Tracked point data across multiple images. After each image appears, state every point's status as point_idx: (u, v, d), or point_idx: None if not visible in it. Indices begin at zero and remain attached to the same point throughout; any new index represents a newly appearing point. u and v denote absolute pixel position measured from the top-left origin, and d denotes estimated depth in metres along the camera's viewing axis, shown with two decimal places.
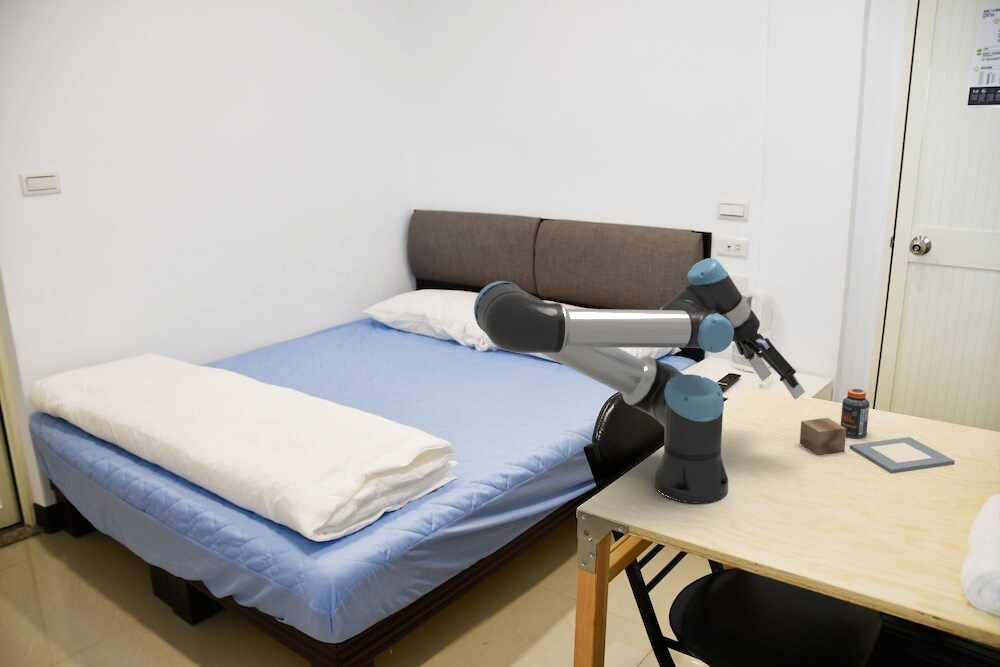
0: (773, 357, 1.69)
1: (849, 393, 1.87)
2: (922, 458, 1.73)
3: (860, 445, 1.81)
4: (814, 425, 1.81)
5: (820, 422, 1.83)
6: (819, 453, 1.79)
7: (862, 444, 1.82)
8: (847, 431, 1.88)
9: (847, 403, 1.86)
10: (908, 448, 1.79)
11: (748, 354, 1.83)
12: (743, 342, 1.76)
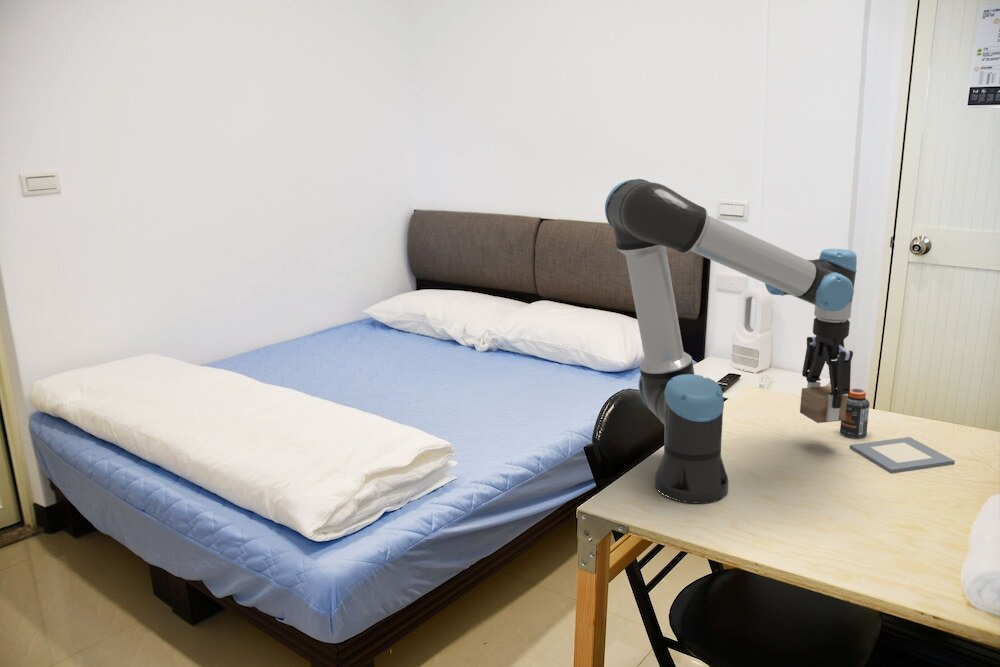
0: (844, 370, 1.71)
1: (849, 393, 1.87)
2: (922, 458, 1.73)
3: (860, 445, 1.81)
4: (815, 392, 1.79)
5: (821, 389, 1.81)
6: (819, 420, 1.77)
7: (862, 444, 1.82)
8: (847, 431, 1.88)
9: (847, 403, 1.86)
10: (908, 448, 1.79)
11: (813, 372, 1.81)
12: (820, 343, 1.77)
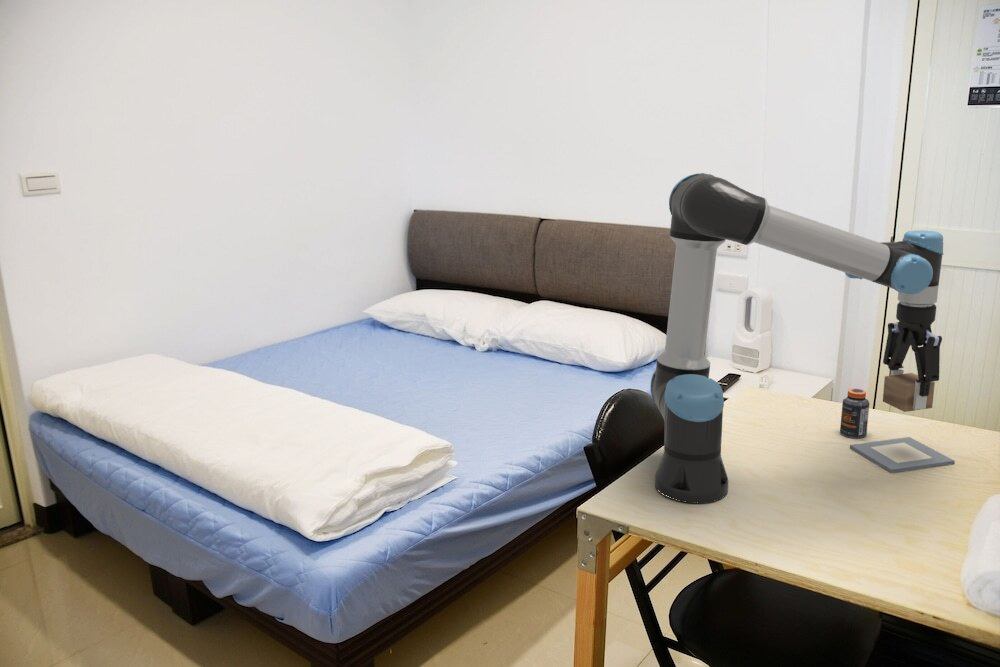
0: (932, 356, 1.64)
1: (849, 393, 1.87)
2: (922, 458, 1.73)
3: (860, 445, 1.81)
4: (900, 379, 1.72)
5: (905, 376, 1.74)
6: (906, 408, 1.70)
7: (862, 444, 1.82)
8: (847, 431, 1.88)
9: (847, 403, 1.86)
10: (908, 448, 1.79)
11: (896, 359, 1.74)
12: (905, 329, 1.70)
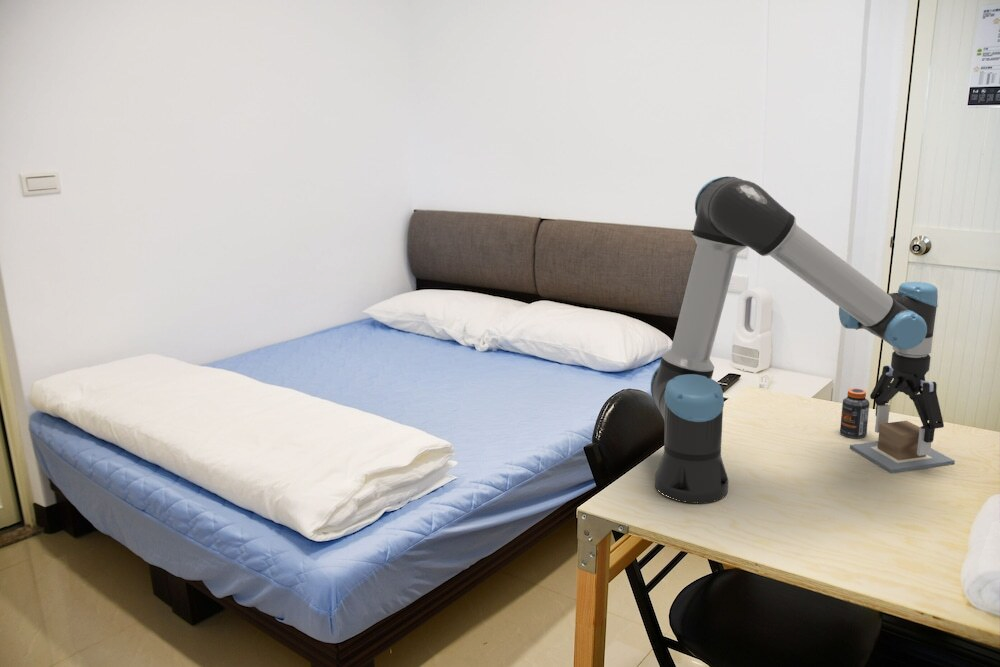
0: (931, 402, 1.65)
1: (849, 393, 1.87)
2: (922, 458, 1.73)
3: (860, 445, 1.81)
4: (895, 428, 1.75)
5: (900, 424, 1.77)
6: (900, 457, 1.73)
7: (862, 444, 1.82)
8: (847, 431, 1.88)
9: (847, 403, 1.86)
10: None
11: (884, 398, 1.79)
12: (899, 379, 1.73)
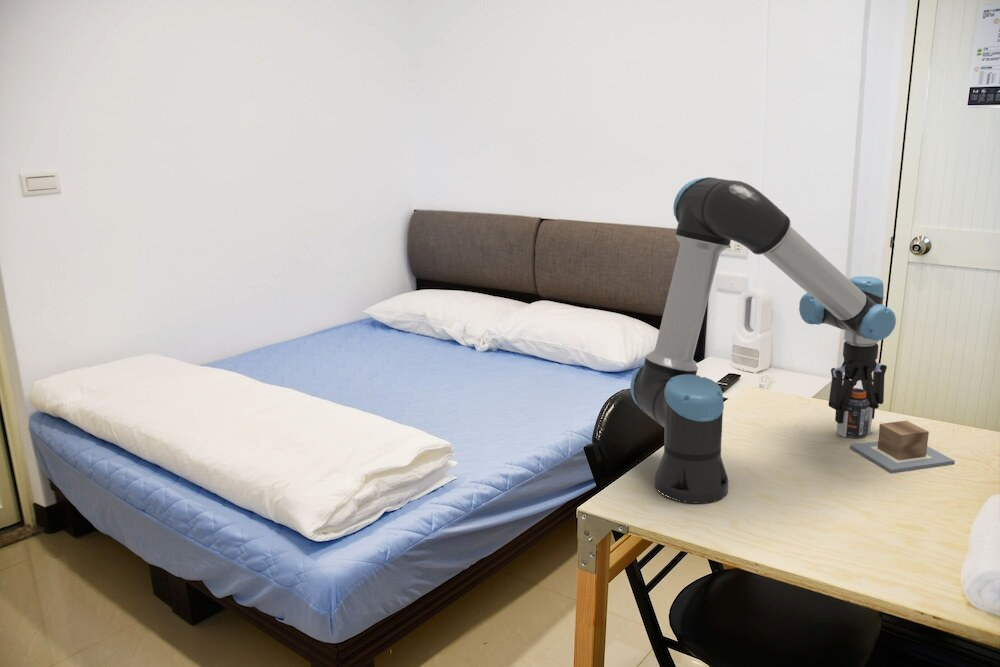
0: (833, 385, 1.86)
1: None
2: (922, 458, 1.73)
3: (860, 445, 1.81)
4: (895, 428, 1.75)
5: (900, 424, 1.77)
6: (900, 457, 1.73)
7: (862, 444, 1.82)
8: (847, 431, 1.88)
9: (848, 403, 1.86)
10: None
11: None
12: None
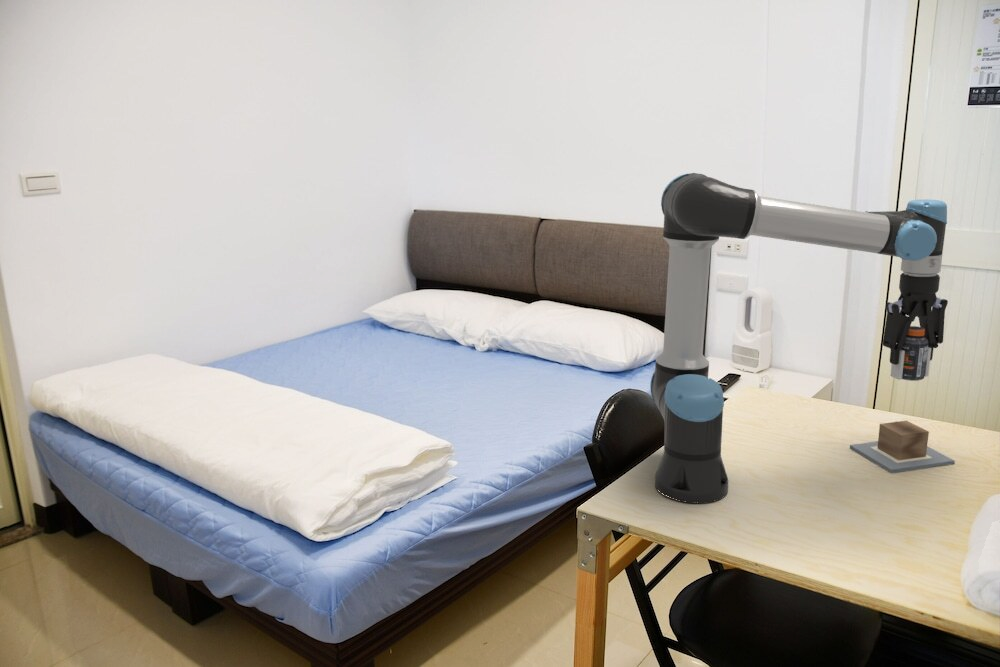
0: (888, 322, 1.68)
1: None
2: (922, 458, 1.73)
3: (860, 445, 1.81)
4: (895, 428, 1.75)
5: (900, 424, 1.77)
6: (900, 457, 1.73)
7: (862, 444, 1.82)
8: (903, 373, 1.70)
9: (904, 342, 1.69)
10: None
11: None
12: None
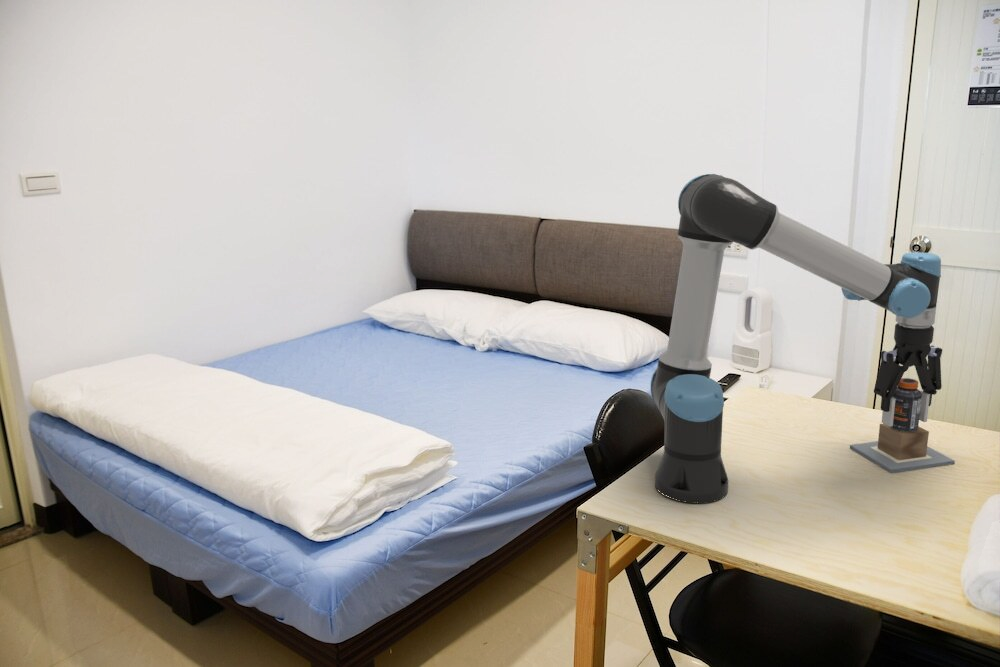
0: (881, 370, 1.71)
1: (900, 383, 1.72)
2: (922, 458, 1.73)
3: (860, 445, 1.81)
4: None
5: None
6: (901, 457, 1.73)
7: (862, 444, 1.82)
8: (897, 424, 1.73)
9: (898, 394, 1.72)
10: None
11: (920, 380, 1.74)
12: None
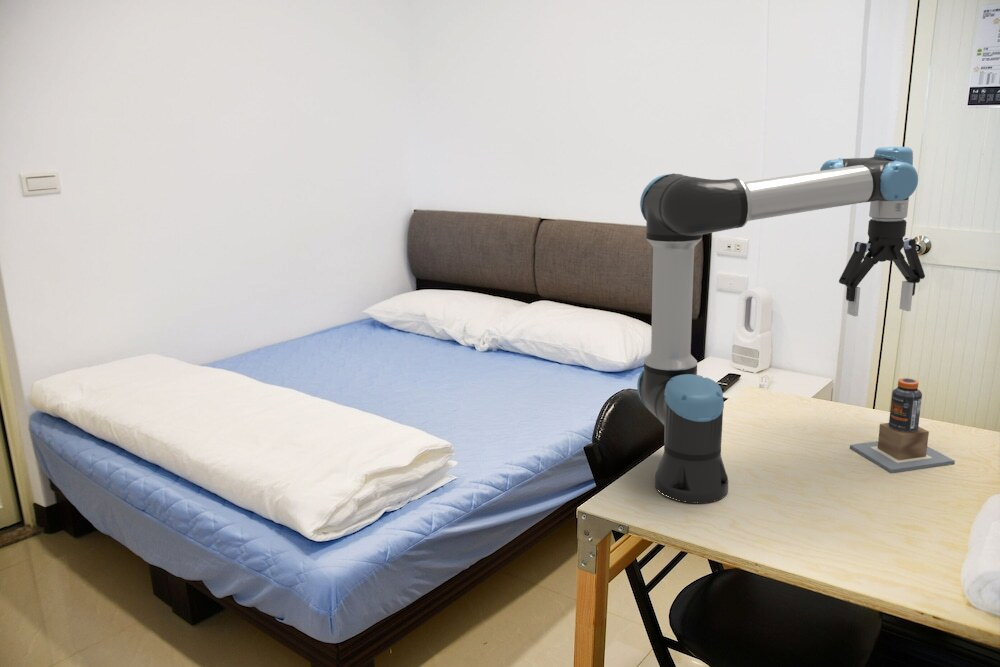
0: (851, 260, 1.72)
1: (900, 383, 1.72)
2: (922, 458, 1.73)
3: (860, 445, 1.81)
4: None
5: None
6: (901, 457, 1.73)
7: (862, 444, 1.82)
8: (897, 424, 1.73)
9: (898, 394, 1.72)
10: None
11: (901, 272, 1.77)
12: None
